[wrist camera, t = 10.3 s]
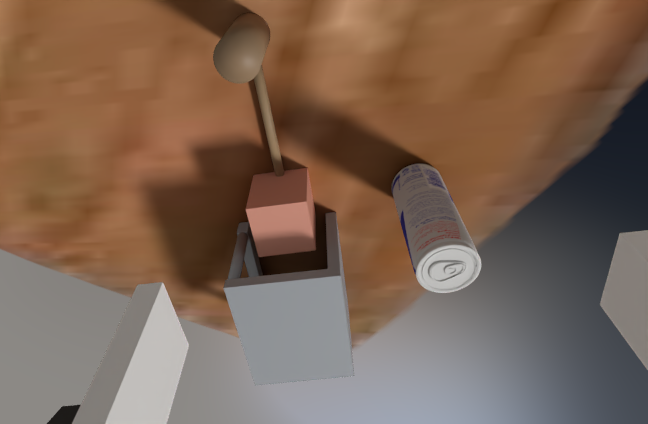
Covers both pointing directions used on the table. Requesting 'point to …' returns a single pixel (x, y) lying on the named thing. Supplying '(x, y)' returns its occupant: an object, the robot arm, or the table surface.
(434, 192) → the beverage can
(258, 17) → the block
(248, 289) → the box
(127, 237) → the table surface
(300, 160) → the table surface
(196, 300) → the table surface
